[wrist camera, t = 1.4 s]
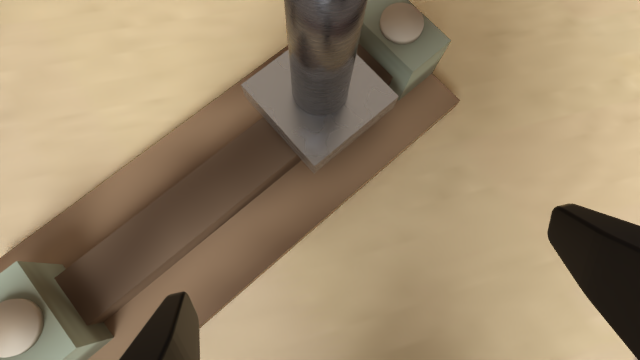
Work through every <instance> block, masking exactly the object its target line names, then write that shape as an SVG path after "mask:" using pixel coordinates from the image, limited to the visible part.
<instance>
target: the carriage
mask: <svg viewBox="0 0 640 360" xmlns="http://www.w3.org/2000/svg"><path fill="white" fill-rule="evenodd" d="M367 1H368V0H284V2H285V14H286V26H287V38H288V50H287V51H286V52H284V53H283V54H282V55H280V56H279V57H278V58H276V59H275V60H274V61H272V62H271V63H270V64H268V65H267V66H265V67H264V68H263V69H261V70H260V71H259V72H257V73H256V74H255V75H253V76H252V77H251V78H249V79H248V80H247V81H245V82H244V83H243V84H241V86H242V89H243V92H244V95H245V97H246V98H247V99H248V101H249V102H250V103H251V104H252V105H253V106H254V107H255V108H256V109H257V111H258V112H259V113H260V114H261V115H262V116H263V117H264V118H265V119H266V121H267V122H268V123H269V124H270V125H271V126H272V127H273V128H274V129H275V131H276V132H277V133H278V134H279V135H280V136H281V137H282V138H283V139H284V141H285V142H286V143H287V144H288V145H289V146H290V147H291V148H292V150H293V151H294V152H295V153H296V154H297V155H298V156H299V157H300V158H301V160H302V161H303V162H304V163H305V164H306V165H307V166H308V167H309V168H310V170H311V171H312V172H313V173H315V172H317V171H318V170H319V169H320V168H321V167H323V166H324V165H325V164H326V163H327V162H329V161H330V160H331V159H332V158H333V157H335V156H336V155H337V154H338V153H339V152H341V151H342V150H343V149H344V148H345V147H347V146H348V145H349V144H350V143H351V142H353V141H354V140H355V139H356V138H357V137H359V136H360V135H361V134H362V133H363V132H365V131H366V130H367V129H368V128H369V127H371V126H372V125H373V124H374V123H375V122H377V121H378V120H379V119H380V118H381V117H383V116H384V115H385V114H386V113H387V112H389V111H390V110H391V109H392V108H393V107H394V105H395V103H396V101H397V99H398V97H399V96H398V95H397V94H396V93H395V92H394V91H393V90H392V89H391V88H390V87H389V86H388V85H387V84H386V83H385V82H384V81H383V80H382V79H381V78H380V77H379V76H378V75H377V74H376V73H375V72H374V71H373V70H372V69H371V68H370V67H369V66H368V65H367V64H366V63H365V62H364V61H363V60H362V59H361V58H360V57H359V56H358V55H357V54H356V53H357V49H358V44H359V39H360V34H361V29H362V25H363V20H364V15H365V10H366V6H367Z"/></svg>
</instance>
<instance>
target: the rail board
mask: <svg viewBox="0 0 640 360" xmlns="http://www.w3.org/2000/svg"><path fill="white" fill-rule="evenodd" d="M450 42H451V40H450V39H449V38H448V37H447V36H446V35H445V34H444V33H443V32H441V31H440V30H439V29H438V28H437V27H436V26H435V25H434V24H433V23H432V22H431V21H430V20H429V19H428V18H427V17H425V16H424V15H423V14H422V13H421V12H420V11H419V10H418V9H417V8H416V7H415V6H414V5H413V4H412V3H411V2H409V1H408V0H368V1H367V6H366V10H365V15H364V20H363V25H362V29H361V34H360V39H359V44H358V49H357V53H356V54H357V55H358V56H359V57H360V58H361V59H362V60H363V61H364V62H365V63H366V64H367V65H368V66H369V67H370V68H371V69H372V70H373V71H374V72H375V73H376V74H377V75H378V76H379V77H380V78H381V79H382V80H383V81H384V82H385V83H386V84H387V85H388V86H389V87H390V88H391V89H392V90H393V91H394V92H395V93H396V94H397V95H398V96H399V97H398V99H397V101H396V103H395V105H394V107H393V108H392V109H391V110H390V111H389V112H387V113H386V114H385V115H384V116H383V117H381V118H380V119H379V120H378V121H377V122H375V123H374V124H373V125H372V126H371V127H369V128H368V129H367V130H366V131H365V132H363V133H362V134H361V135H360V136H359V137H357V138H356V139H355V140H354V141H353V142H351V143H350V144H349V145H348V146H347V147H345V148H344V149H343V150H342V151H341V152H339V153H338V154H337V155H336V156H335V157H333V158H332V159H331V160H330V161H329V162H327V163H326V164H325V165H324V166H323V167H321V168H320V169H319V170H318V171H317V172H315V173H313V172H312V171H311V170H310V168H309V167H308V166H307V165H306V164H305V163H304V162H303V161H302V160H301V158H300V157H299V156H298V155H297V154H296V153H295V152H294V151H293V150H292V148H291V147H290V146H289V145H288V144H287V143H286V142H285V141H284V139H283V138H282V137H281V136H280V135H279V134H278V133H277V132H276V131H275V129H274V128H273V127H272V126H271V125H270V124H269V123H268V122H267V121H266V119H265V118H264V117H263V116H262V115H261V114H260V113H259V112H258V111H257V109H256V108H255V107H254V106H253V105H252V104H251V103H250V102H249V101H248V99H247V98H246V97H245V95H244V92H243V89H242V86H241V84H243V83H244V82H245V81H247V80H248V79H249V78H251V77H252V76H253V75H255V74H256V73H257V72H259V71H260V70H261V69H263V68H264V67H265V66H267V65H268V64H270V63H271V62H272V61H274V60H275V59H276V58H278V57H279V56H280V55H282V54H283V53H284V52H286V51H287V50H288V46H286V47H285V48H284V49H282V50H281V51H280V52H278V53H277V54H276V55H274V56H273V57H272V58H270V59H269V60H267V61H266V62H265V63H263V64H262V65H261V66H259V67H258V68H257V69H255V70H254V71H253V72H251V73H250V74H249V75H247V76H246V77H244V78H243V79H242V80H240V81H239V82H238V83H236V84H235V85H234V86H232V87H231V88H230V89H228V90H227V91H226V92H224V93H223V94H221V95H220V96H219V97H217V98H216V99H215V100H213V101H212V102H211V103H209V104H208V105H207V106H205V107H204V108H203V109H201V110H200V111H198V112H197V113H196V114H194V115H193V116H192V117H190V118H189V119H188V120H186V121H185V122H184V123H182V124H181V125H180V126H178V127H177V128H175V129H174V130H173V131H171V132H170V133H169V134H167V135H166V136H165V137H163V138H162V139H161V140H159V141H158V142H157V143H155V144H154V145H152V146H151V147H150V148H148V149H147V150H146V151H144V152H143V153H142V154H140V155H139V156H138V157H136V158H135V159H134V160H132V161H131V162H130V163H128V164H127V165H125V166H124V167H123V168H121V169H120V170H119V171H117V172H116V173H115V174H113V175H112V176H111V177H109V178H108V179H107V180H105V181H104V182H102V183H101V184H100V185H98V186H97V187H96V188H94V189H93V190H92V191H90V192H89V193H88V194H86V195H85V196H84V197H82V198H81V199H79V200H78V201H77V202H75V203H74V204H73V205H71V206H70V207H69V208H67V209H66V210H65V211H63V212H62V213H61V214H59V215H58V216H56V217H55V218H54V219H52V220H51V221H50V222H48V223H47V224H46V225H44V226H43V227H42V228H40V229H39V230H38V231H36V232H35V233H33V234H32V235H31V236H29V237H28V238H27V239H25V240H24V241H23V242H21V243H20V244H19V245H17V246H16V247H15V248H13V249H12V250H11V251H9V252H8V253H6V254H5V255H4V256H2V257H1V258H0V360H119V359H120V357H121V356H122V355H123V353H124V352H125V351H126V349H127V348H128V347H129V345H130V344H131V343H132V341H133V340H134V339H135V337H136V336H137V335H138V333H139V332H140V331H141V329H142V328H143V327H144V325H145V324H146V323H147V321H148V320H149V319H150V317H151V316H152V315H153V313H154V312H155V311H156V309H157V308H158V307H159V305H160V304H161V303H162V301H163V300H164V299H165V297H166V296H168V295H170V294H174V293H178V292H183V291H184V292H186V293H187V294H188V295H189V297H190V299H191V302H192V304H193V306H194V308H195V310H196V312H197V315H198V319H199V328H201V327H202V326H203V325H204V324H205V323H206V322H207V321H209V320H210V319H211V318H212V317H213V316H214V315H216V314H217V313H218V312H219V311H220V310H221V309H222V308H224V307H225V306H226V305H227V304H228V303H229V302H230V301H232V300H233V299H234V298H235V297H236V296H237V295H239V294H240V293H241V292H242V291H243V290H244V289H245V288H247V287H248V286H249V285H250V284H251V283H252V282H254V281H255V280H256V279H257V278H258V277H259V276H260V275H262V274H263V273H264V272H265V271H266V270H267V269H268V268H270V267H271V266H272V265H273V264H274V263H275V262H277V261H278V260H279V259H280V258H281V257H282V256H283V255H285V254H286V253H287V252H288V251H289V250H290V249H292V248H293V247H294V246H295V245H296V244H297V243H298V242H300V241H301V240H302V239H303V238H304V237H305V236H306V235H308V234H309V233H310V232H311V231H312V230H313V229H315V228H316V227H317V226H318V225H319V224H320V223H321V222H323V221H324V220H325V219H326V218H327V217H328V216H330V215H331V214H332V213H333V212H334V211H335V210H336V209H338V208H339V207H340V206H341V205H342V204H343V203H344V202H346V201H347V200H348V199H349V198H350V197H351V196H353V195H354V194H355V193H356V192H357V191H358V190H359V189H361V188H362V187H363V186H364V185H365V184H366V183H367V182H369V181H370V180H371V179H372V178H373V177H374V176H376V175H377V174H378V173H379V172H380V171H381V170H382V169H384V168H385V167H386V166H387V165H388V164H389V163H391V162H392V161H393V160H394V159H395V158H396V157H397V156H399V155H400V154H401V153H402V152H403V151H404V150H405V149H407V148H408V147H409V146H410V145H411V144H412V143H414V142H415V141H416V140H417V139H418V138H419V137H420V136H422V135H423V134H424V133H425V132H426V131H427V130H429V129H430V128H431V127H432V126H433V125H434V124H435V123H437V122H438V121H439V120H440V119H441V118H442V117H443V116H445V115H446V114H447V113H448V112H449V111H450V110H452V109H453V108H454V107H455V106H456V104H457V103H458V102H459V101H460V100H459V99H458V98H457V97H456V96H455V95H454V94H453V93H452V92H451V91H450V90H449V89H448V88H447V87H446V86H445V85H444V84H443V83H442V82H441V81H440V80H439V79H438V78H437V77H435V76H434V75H433V74H432V72H433V71H434V69H435V67H436V65H437V64H438V62H439V60H440V59H441V57H442V55H443V54H444V52H445V50H446V48H447V47H448V45H449V43H450Z"/></svg>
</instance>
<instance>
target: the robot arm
mask: <svg viewBox="0 0 640 360" xmlns="http://www.w3.org/2000/svg"><path fill="white" fill-rule="evenodd" d="M548 239H549V241H550V243H551V244H552V246H553V247H554V249H555V250H556V252H557V253H558V255H559V256H560V258H561V259H562V261H563V262H564V264H565V266H566V267H567V269H568V270H569V272H570V273H571V275H572V276H573V278H574V279H575V281H576V282H577V284H578V285H579V287H580V288H581V289H582V291H583V292H584V294H585V295H586V296H587V297H588V299H589V300H590V301H591V303H592V304H593V305H594V306H595V308H596V309H597V310H598V311H599V312H600V314H601V315H602V316H603V317H604V319H605V320H606V321H607V322H608V323H609V325H610V326H611V327H612V328H613V330H614V331H615V332H616V333H617V334H618V336H619V337H620V338H621V339H622V341H623V342H624V343H625V344H626V345H627V347H628V348H629V349H630V350H631V352H632V353H633V354H634V355H635V357H636V358H637V359H638V360H640V226H639V225H636V224H633V223H630V222H627V221H624V220H621V219H618V218H615V217H612V216H609V215H606V214H603V213H600V212H597V211H594V210H591V209H588V208H585V207H582V206H579V205H576V204H565V205H561V206H557V207H555V208H554V209H553V210H552V214H551V219H550V223H549V228H548ZM119 360H200V342H199V319H198V315H197V312H196V310H195V308H194V306H193V304H192V302H191V299H190V297H189V295H188V294H187V293H186V292H184V291H183V292H178V293H174V294H170V295H168V296H166V297H165V299H164V300H163V301H162V303H161V304H160V305H159V307H158V308H157V309H156V311H155V312H154V313H153V315H152V316H151V317H150V319H149V320H148V321H147V323H146V324H145V325H144V327H143V328H142V329H141V331H140V332H139V333H138V335H137V336H136V337H135V339H134V340H133V341H132V343H131V344H130V345H129V347H128V348H127V349H126V351H125V352H124V353H123V355H122V356H121V357H120V359H119Z"/></svg>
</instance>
